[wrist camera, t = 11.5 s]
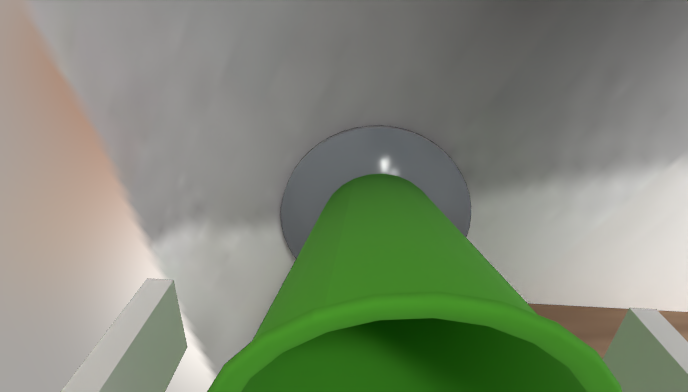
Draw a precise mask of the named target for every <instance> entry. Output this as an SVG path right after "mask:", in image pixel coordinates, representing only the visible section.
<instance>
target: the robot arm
mask: <svg viewBox="0 0 688 392" xmlns="http://www.w3.org/2000/svg"><path fill="white" fill-rule="evenodd" d="M186 348H187V343H186V338H185V334H184V328H183V324H182V319H181V314H180V309H179V304H178V299H177V295H176V290H175V285H174V280H164V279H148V278H147V280H146V281H145V282H144V284H143V285H142V286H141V287H140V289H139V290H138V291H137V293H136V294H135V295H134V297H133V298H132V299H131V300H130V302H129V303H128V304H127V306H126V307H125V308H124V310H123V311H122V312H121V313H120V315H119V316H118V317H117V319H116V320H115V322H114V323H113V324H112V325H111V327H110V328H109V329H108V330H107V332H106V333H105V334H104V336H103V337H102V338H101V340H100V341H99V342H98V344H97V345H96V346H95V347H94V349H93V350H92V351H91V353H90V354H89V355H88V357H87V358H86V359H85V360H84V362H83V363H82V364H81V366H80V367H79V368H78V370H77V371H76V372H75V373H74V375H73V376H72V378H71V379H70V380H69V381H68V383H67V384H66V385H65V387H64V388H63V389H62V390H61V392H165V391H166V389H167V387H168V385H169V383H170V380H171V379H172V377H173V375H174V372H175V371H176V368H177V366H178V364H179V363H180V360H181V358H182V357H183V355H184V353H185V351H186ZM602 360H603V361H604V362H605V364H606V365H607V367H608V368H609V369H610V371H611V372H612V374H613V375H614V377H615V378H616V379H617V381H618V382H619V384H620V385H621V389H622V392H688V342H687V341H686V340H685V338H684V337H683V336H682V335H681V334H680V333H679V332H678V331H677V330H676V329H675V328H674V327H673V326H672V325H671V324H670V323H669V322H668V321H667V320H666V319H665V318H664V317H663V316H662V315H661V314H660V312H659V311H658V310H657V309H642V308H629V310H628V311H627V313H626V315H625V317H624V319H623V321H622V323H621V325H620V327H619V329H618V331H617V333H616V334H615V336H614V338H613V340H612V342H611V344H610V346H609V348H608V350H607V352H606V354H605V356H604V357H603V359H602Z"/></svg>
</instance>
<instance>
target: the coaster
mask: <svg viewBox="0 0 688 392" xmlns="http://www.w3.org/2000/svg"><path fill="white" fill-rule="evenodd" d="M368 174H389V175H395V176H399V177H401V178H403V179H406V180H408V181H410V182H412V183H413V184H414V185H416V186H417V187H418V188H420V189H421V190H422V191H423V192H424V193H425V194H426V195H427V196H428V198H429V199H430V200H431V201H432V202H433V203H434V204H435V205H436V206H437V207H438V208H439V209H440V210H441V211H442V213H443V214H444V215H445V216H446V217H447V218H448V219H449V220H450V221H451V222H452V223H453V224H454V225H455V227H456V228H457V229H458V230H459V231H460V232H461V233H462V234H463V235H464V236H465V237H466V236H467V233H468V229H469V226H470V219H471V202H470V196H469V192H468V189H467V185H466V182H465V181H464V179H463V177H462V175H461V173H460V171H459V169H458V168H457V166H456V165H455V164H454V162H453V161H452V160H451V158H450V157H449V156H448V155H447V154H446V153H445V152H444V151H443V150H442V149H441V148H440V147H439V146H437V145H436V144H435V143H433V142H432V141H430V140H429V139H427V138H425V137H423V136H421V135H419V134H417V133H414V132H412V131H409V130H405V129H401V128H397V127H391V126H364V127H357V128H353V129H349V130H346V131H342V132H340V133H338V134H335V135H333V136H331V137H329V138H327V139H325V140H324V141H322V142H320V143H319V144H318V145H316V146H315V147H314V148H313V149H311V150H310V151H309V152H308V153H307V154H306V155H305V156H304V157H303V158H302V159H301V161H300V162H299V163H298V165H297V166H296V168H295V169H294V171H293V173H292V175H291V177H290V178H289V181H288V183H287V186H286V189H285V192H284V195H283V200H282V205H281V222H282V229H283V233H284V237H285V239H286V242H287V244H288V246H289V248H290V250H291V252H292V253H293V255H294V257H295V258H296V259H297V257H298V255H299V253H300V251H301V249H302V248H303V246H304V244H305V242H306V240H307V238H308V236H309V235H310V233H311V231H312V229H313V227H314V225H315V223H316V222H317V220H318V218H319V216H320V214H321V212H322V211H323V209H324V207H325V205H326V203H327V202H328V200H329V199H330V197H331V196H332V194H333V193H334V192H336V191H337V190H338V189H339V188H340V187H341V186H342V185H344V184H345V183H347V182H349V181H351V180H353V179H354V178H358V177H361V176H365V175H368Z"/></svg>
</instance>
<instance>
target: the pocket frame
mask: <svg viewBox="0 0 688 392" xmlns="http://www.w3.org/2000/svg"><path fill="white" fill-rule="evenodd" d="M528 305H529V306H530V307H531V308H532V309H533V310H534V311H535V312H536V313H537V314H538V315H540V316H542V317H545V318H547V319H550V320H552V321H555V322H557V323H559V324H560V325H561V326H563V327H564V328H565V329H567V330H568V331H569V332H571V333H572V334H574V335H575V336H576V337H578V338H579V339H580V340H582V341H583V342H585V343H586V344H587V345H589V346H590V347H591V348H593V349H594V350H595V351H597V352H598V354H599V355H600V357H601V358H602V359H603V357H604V356H605V354H606V352H607V350H608V348H609V346H610V344H611V342H612V340H613V338H614V336H615V334H616V333H617V331H618V329H619V327H620V325H621V323H622V321H623V319H624V317H625V315H626V313H627V311H628V310H629V309H617V308H599V307H580V306H562V305H543V304H528ZM659 312H660V314H661V315H662V316H663V317H664V318H665V319H666V320H667V321H668V322H669V323H670V324H671V325H672V326H673V327H674V328H675V329H676V330H677V331H678V332H679V333H680V334H681V335H682V336H683V337H684V338H685V340H686V341H687V342H688V312H672V311H659Z"/></svg>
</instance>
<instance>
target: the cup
mask: <svg viewBox="0 0 688 392" xmlns="http://www.w3.org/2000/svg"><path fill="white" fill-rule="evenodd" d="M207 392H622V389H621V385H620V384H619V382H618V381H617V379H616V378H615V377H614V375H613V374H612V372H611V371H610V369H609V368H608V367H607V365H606V364H605V362H604V361H603V360H602V358H601V357H600V355H599V354H598V352H597V351H595V350H594V349H593V348H591V347H590V346H589V345H587V344H586V343H585V342H583V341H582V340H580V339H579V338H578V337H576V336H575V335H574V334H572V333H571V332H569V331H568V330H567V329H565V328H564V327H563V326H561V325H560V324H559V323H557V322H555V321H552V320H550V319H547V318H545V317H542V316H540V315H538V314H537V313H536V312H535V311H534V310H533V309H532V308H531V307H530V306H529V305H528V304H527V303H526V302H525V300H524V299H523V298H522V297H521V296H520V295H519V294H518V293H517V292H516V291H515V290H514V289H513V288H512V287H511V285H510V284H509V283H508V282H507V281H506V280H505V279H504V278H503V277H502V276H501V275H500V274H499V273H498V272H497V270H496V269H495V268H494V267H493V266H492V265H491V264H490V263H489V262H488V261H487V260H486V259H485V258H484V257H483V255H482V254H481V253H480V252H479V251H478V250H477V249H476V248H475V247H474V246H473V245H472V244H471V243H470V242H469V240H468V239H467V238H466V237H465V236H464V235H463V234H462V233H461V232H460V231H459V230H458V229H457V228H456V227H455V225H454V224H453V223H452V222H451V221H450V220H449V219H448V218H447V217H446V216H445V215H444V214H443V213H442V211H441V210H440V209H439V208H438V207H437V206H436V205H435V204H434V203H433V202H432V201H431V200H430V199H429V198H428V196H427V195H426V194H425V193H424V192H423V191H422V190H421V189H420V188H418V187H417V186H416V185H414V184H413V183H412V182H410V181H408V180H406V179H403V178H401V177H399V176H395V175H389V174H368V175H365V176H361V177H358V178H354V179H353V180H351V181H349V182H347V183H345V184H344V185H342V186H341V187H340V188H339V189H338V190H337V191H336V192H334V193H333V194H332V196H331V197H330V199H329V200H328V202H327V203H326V205H325V207H324V209H323V211H322V212H321V214H320V216H319V218H318V220H317V222H316V223H315V225H314V227H313V229H312V231H311V233H310V235H309V236H308V238H307V240H306V242H305V244H304V246H303V248H302V249H301V251H300V253H299V255H298V257H297V259H296V261H295V262H294V264H293V266H292V268H291V270H290V272H289V274H288V275H287V277H286V279H285V281H284V283H283V285H282V287H281V288H280V290H279V292H278V294H277V296H276V298H275V300H274V301H273V303H272V305H271V307H270V309H269V311H268V313H267V314H266V316H265V318H264V320H263V322H262V324H261V326H260V327H259V329H258V331H257V333H256V335H255V337H254V338H253V340H252V342H251V343H249V344H248V345H247V346H246V347H245V348H243V349H242V350H241V351H240V352H239V353H238V354H236V355H235V356H234V357H233V358H232V359H230V360H229V361H228V362H227V363H226V364H225V365H224V366H223V368H222V369H221V371H220V372H219V374H218V375H217V377H216V379H215V380H214V382H213V383H212V385H211V387H210V388H209V390H208V391H207Z"/></svg>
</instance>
